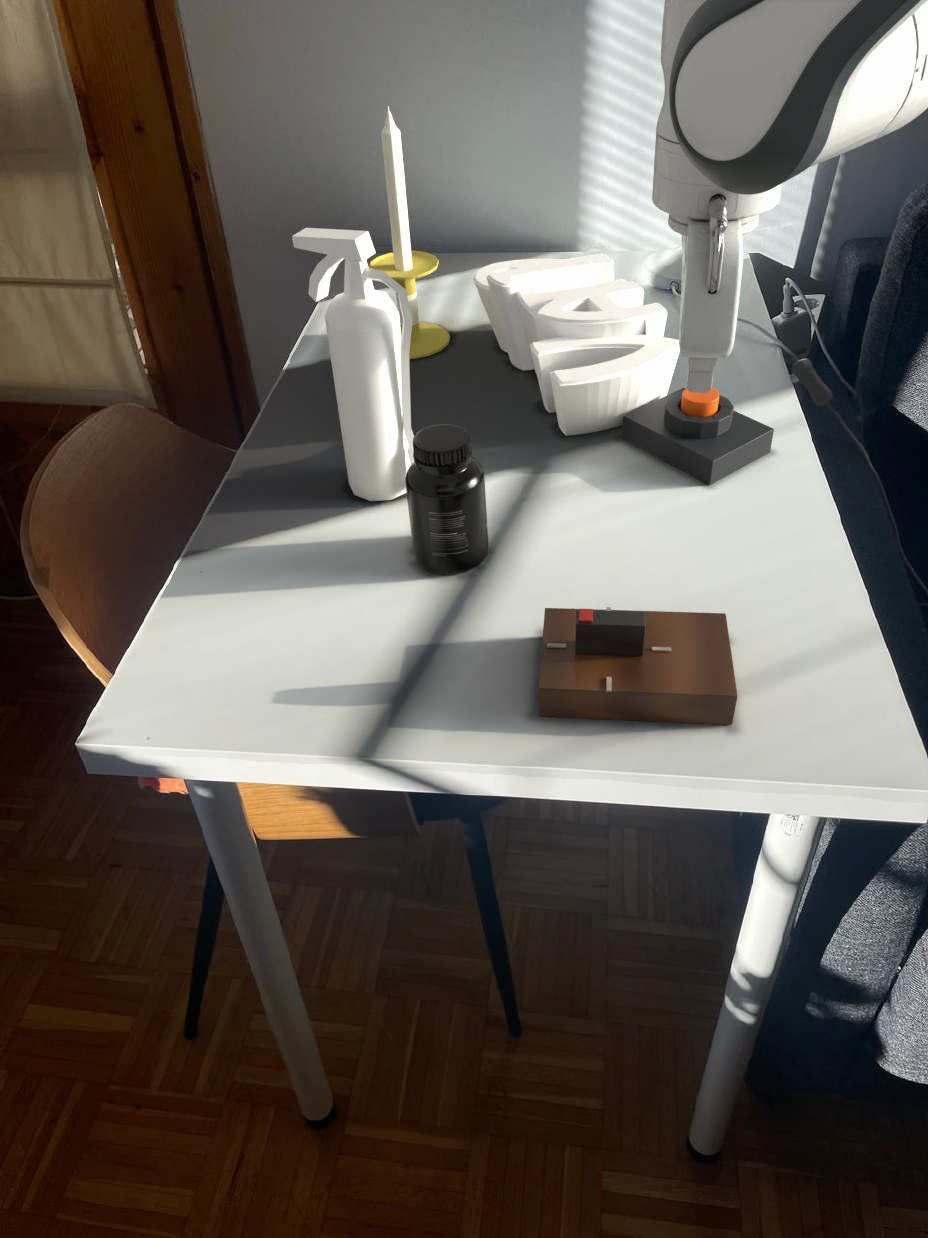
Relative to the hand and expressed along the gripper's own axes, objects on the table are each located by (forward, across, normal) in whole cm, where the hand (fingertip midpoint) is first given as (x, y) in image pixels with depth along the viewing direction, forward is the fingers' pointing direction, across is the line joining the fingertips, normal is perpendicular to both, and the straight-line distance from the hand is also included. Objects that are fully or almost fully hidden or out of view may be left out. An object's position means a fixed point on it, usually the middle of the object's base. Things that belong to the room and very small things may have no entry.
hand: (698, 359), depth 76 cm
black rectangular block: (+14, -19, +5) cm, 24 cm away
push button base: (+17, +16, -1) cm, 24 cm away
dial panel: (+17, -19, +3) cm, 26 cm away
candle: (+17, +38, +34) cm, 54 cm away
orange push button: (+13, +16, -1) cm, 21 cm away
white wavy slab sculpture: (+17, +30, +13) cm, 37 cm away
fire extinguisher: (+17, +5, +29) cm, 34 cm away
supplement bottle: (+17, -5, +20) cm, 27 cm away
